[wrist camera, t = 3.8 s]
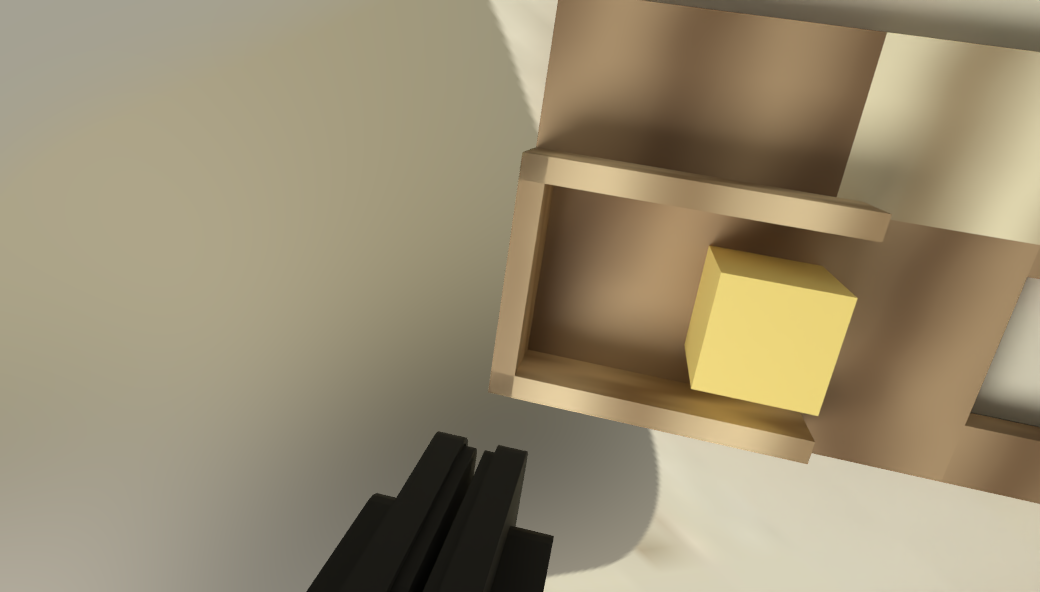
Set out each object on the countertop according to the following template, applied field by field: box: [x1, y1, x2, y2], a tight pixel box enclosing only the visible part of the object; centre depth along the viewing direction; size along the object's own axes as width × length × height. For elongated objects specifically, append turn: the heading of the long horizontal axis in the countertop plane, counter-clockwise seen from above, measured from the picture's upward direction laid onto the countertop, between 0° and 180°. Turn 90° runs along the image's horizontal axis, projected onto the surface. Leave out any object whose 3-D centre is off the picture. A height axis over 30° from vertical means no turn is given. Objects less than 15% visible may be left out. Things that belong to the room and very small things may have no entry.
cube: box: [684, 245, 858, 416], centre depth 24 cm, size 4×4×4 cm
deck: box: [528, 0, 1040, 504], centre depth 25 cm, size 29×17×2 cm, turn 82°
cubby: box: [488, 147, 892, 464], centre depth 25 cm, size 13×10×3 cm
